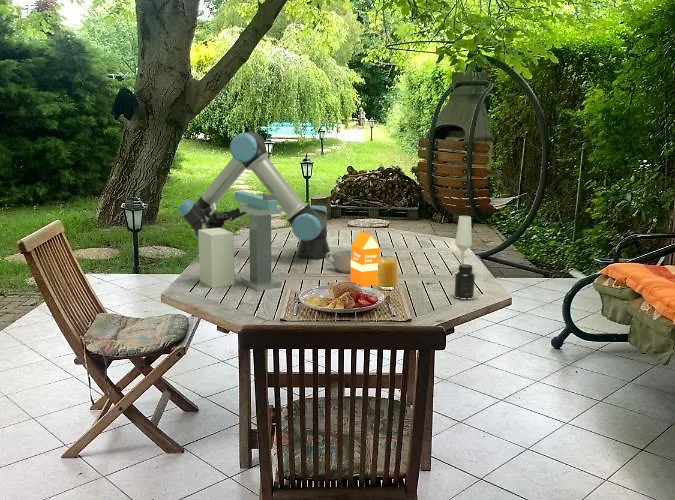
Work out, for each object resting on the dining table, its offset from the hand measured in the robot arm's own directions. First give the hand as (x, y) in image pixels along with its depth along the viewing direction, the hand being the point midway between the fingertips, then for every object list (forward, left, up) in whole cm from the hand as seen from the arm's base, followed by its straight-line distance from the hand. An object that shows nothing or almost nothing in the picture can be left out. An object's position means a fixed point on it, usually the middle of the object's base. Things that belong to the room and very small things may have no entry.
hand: (230, 204), depth 259 cm
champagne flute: (-95, +6, -27) cm, 99 cm away
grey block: (+4, +18, -27) cm, 33 cm away
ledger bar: (-11, +18, +3) cm, 21 cm away
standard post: (-13, +21, -27) cm, 37 cm away
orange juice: (-53, +19, -27) cm, 62 cm away
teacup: (-46, 0, -27) cm, 53 cm away
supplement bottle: (-87, +39, -27) cm, 99 cm away
